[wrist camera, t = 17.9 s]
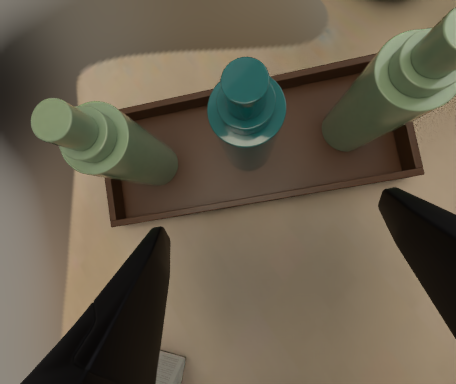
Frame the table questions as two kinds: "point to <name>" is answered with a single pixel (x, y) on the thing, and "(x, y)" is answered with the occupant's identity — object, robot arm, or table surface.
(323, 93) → the tray
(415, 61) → the sage bottle
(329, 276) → the table surface
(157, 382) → the small box
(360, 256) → the table surface
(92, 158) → the sage bottle
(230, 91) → the teal bottle
